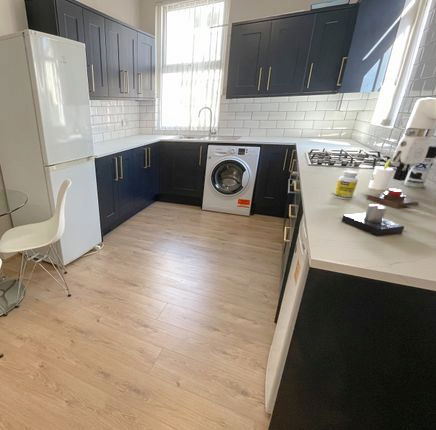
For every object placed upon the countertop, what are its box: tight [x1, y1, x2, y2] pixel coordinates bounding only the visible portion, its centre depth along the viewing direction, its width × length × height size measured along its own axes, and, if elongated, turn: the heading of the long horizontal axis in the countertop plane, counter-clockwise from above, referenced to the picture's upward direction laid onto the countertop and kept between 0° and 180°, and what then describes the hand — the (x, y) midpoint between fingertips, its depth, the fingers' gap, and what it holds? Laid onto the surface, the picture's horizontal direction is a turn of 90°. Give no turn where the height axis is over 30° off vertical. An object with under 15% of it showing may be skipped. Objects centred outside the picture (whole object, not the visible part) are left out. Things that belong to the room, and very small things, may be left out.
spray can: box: [403, 145, 436, 188], centre depth 134 cm, size 7×7×20 cm
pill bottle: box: [333, 170, 359, 200], centre depth 121 cm, size 6×6×12 cm
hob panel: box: [340, 212, 405, 237], centre depth 94 cm, size 12×10×3 cm
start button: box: [387, 188, 403, 196], centre depth 115 cm, size 4×4×2 cm
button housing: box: [366, 190, 420, 210], centre depth 116 cm, size 12×10×4 cm
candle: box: [368, 158, 394, 191], centre depth 131 cm, size 6×6×15 cm
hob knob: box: [364, 203, 388, 223], centre depth 93 cm, size 4×4×5 cm
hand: (398, 179), depth 113 cm, fingers closed
